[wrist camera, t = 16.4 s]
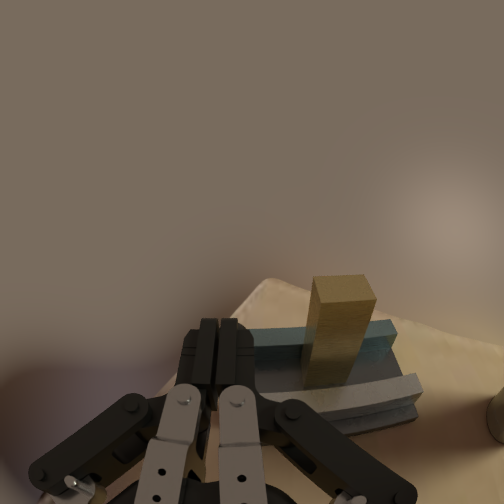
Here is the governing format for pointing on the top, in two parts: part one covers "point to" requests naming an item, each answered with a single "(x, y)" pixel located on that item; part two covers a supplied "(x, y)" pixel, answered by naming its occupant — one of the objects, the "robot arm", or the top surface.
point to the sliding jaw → (356, 396)
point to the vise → (363, 371)
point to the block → (335, 327)
